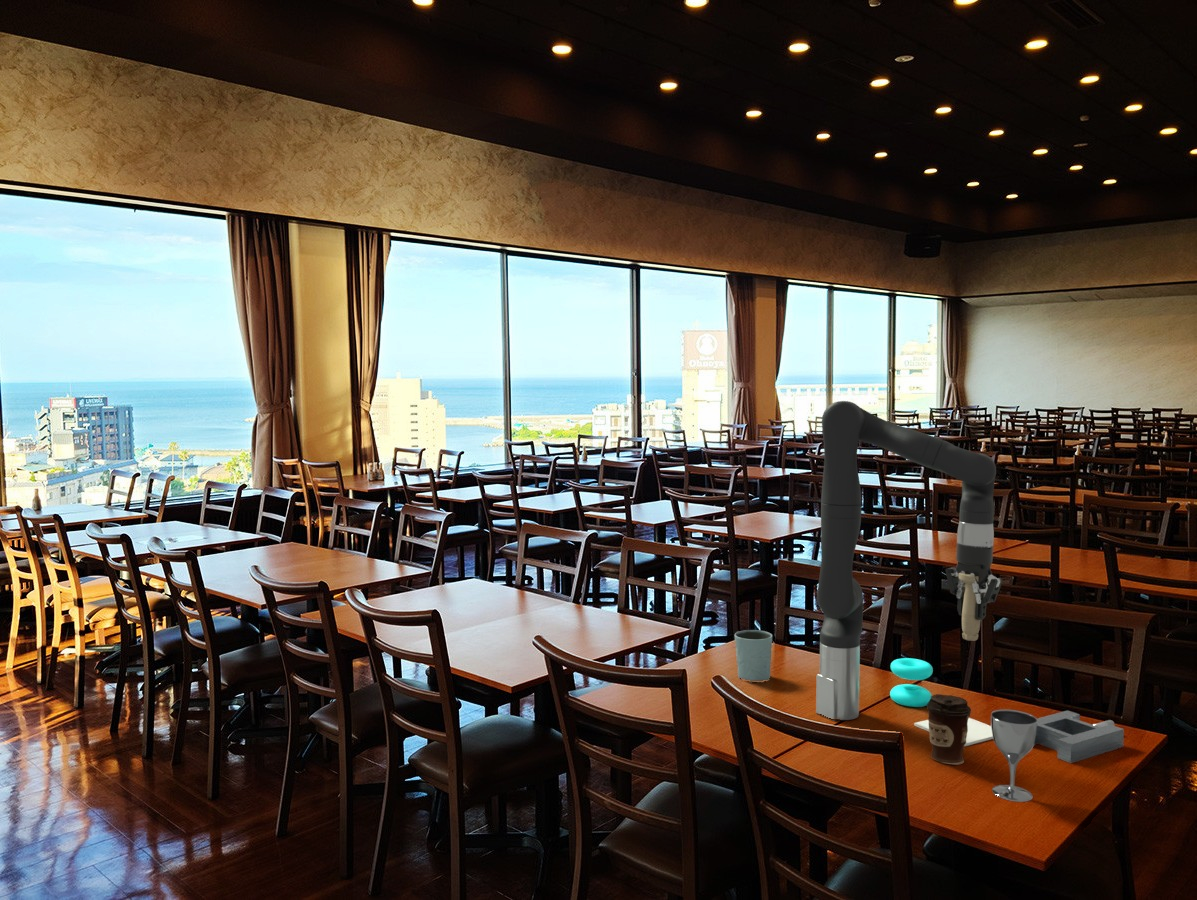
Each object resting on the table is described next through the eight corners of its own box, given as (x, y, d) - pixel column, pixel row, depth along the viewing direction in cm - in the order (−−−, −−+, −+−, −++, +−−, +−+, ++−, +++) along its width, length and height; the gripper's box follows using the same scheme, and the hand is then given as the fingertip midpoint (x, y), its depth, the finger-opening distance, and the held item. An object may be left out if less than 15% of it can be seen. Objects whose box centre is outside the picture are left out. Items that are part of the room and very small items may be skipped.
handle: (989, 641, 197) (992, 575, 196) (966, 643, 195) (969, 577, 194) (973, 635, 202) (977, 571, 201) (951, 637, 199) (954, 572, 198)
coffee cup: (948, 770, 178) (949, 708, 177) (916, 756, 185) (917, 696, 185) (977, 762, 182) (979, 701, 181) (945, 748, 189) (946, 689, 189)
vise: (1070, 763, 182) (1071, 744, 181) (1015, 741, 193) (1015, 724, 193) (1139, 741, 193) (1140, 724, 192) (1083, 722, 204) (1083, 706, 204)
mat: (964, 746, 191) (964, 743, 191) (914, 725, 203) (914, 723, 203) (1007, 734, 197) (1007, 732, 197) (956, 715, 209) (956, 712, 209)
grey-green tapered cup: (775, 683, 233) (775, 639, 233) (737, 683, 233) (737, 639, 233) (768, 672, 243) (768, 629, 243) (731, 672, 244) (732, 629, 243)
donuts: (907, 670, 212) (882, 658, 222) (907, 710, 213) (881, 697, 222) (941, 666, 215) (915, 655, 225) (941, 706, 216) (914, 693, 225)
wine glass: (981, 785, 171) (983, 710, 171) (1020, 783, 172) (1021, 708, 171) (1003, 803, 163) (1005, 725, 163) (1044, 801, 164) (1046, 723, 163)
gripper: (937, 538, 201) (934, 611, 202) (991, 548, 189) (986, 626, 190) (960, 536, 205) (956, 608, 206) (1014, 546, 192) (1009, 623, 193)
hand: (971, 616), depth 198 cm, fingers closed on handle, 4 cm apart
